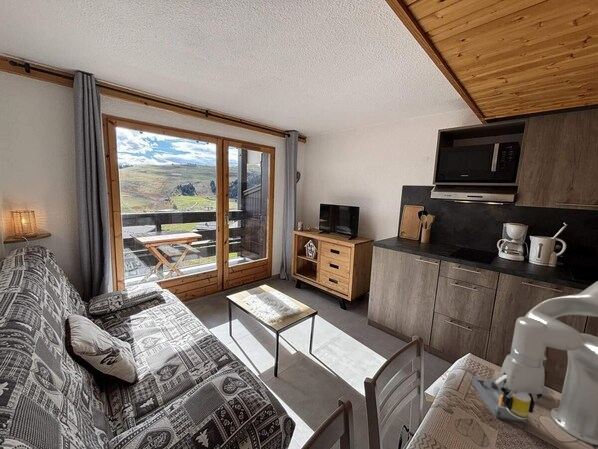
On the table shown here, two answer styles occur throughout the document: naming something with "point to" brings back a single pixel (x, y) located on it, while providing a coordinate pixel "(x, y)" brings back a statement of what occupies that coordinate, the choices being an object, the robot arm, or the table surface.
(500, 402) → the pusher
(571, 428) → the robot arm
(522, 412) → the supplement bottle
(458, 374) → the table surface
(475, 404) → the table surface
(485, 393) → the lane base
